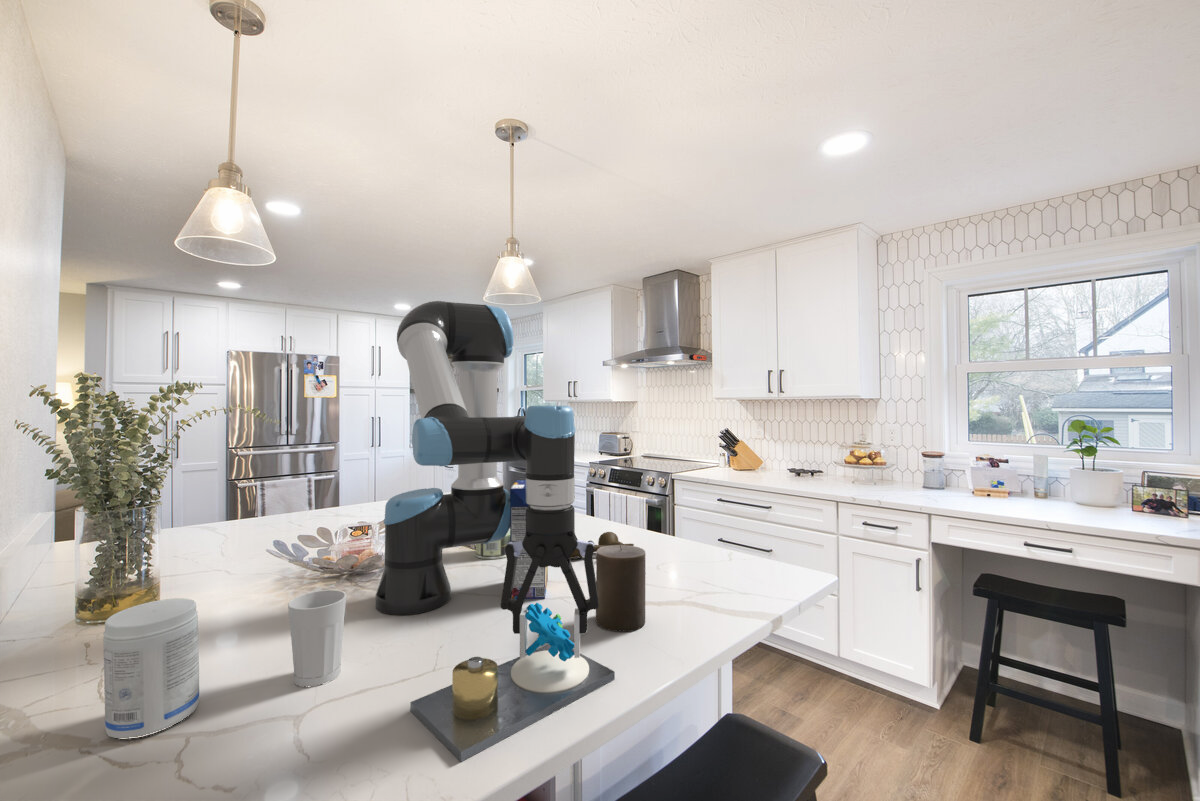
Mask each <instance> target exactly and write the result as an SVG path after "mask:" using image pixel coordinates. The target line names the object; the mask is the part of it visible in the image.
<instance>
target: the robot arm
mask: <svg viewBox="0 0 1200 801" xmlns="http://www.w3.org/2000/svg"><path fill="white" fill-rule="evenodd" d="M396 343H397V349H398V351H399V353H400V355H401V357H402V358H403V359H405V360H406V363H407V366H408V370H409V374H410V378H411V382H412V388H413V391H414V395H415V398H416V403H417V407H418V411H419V416H420V418H417V419H416V420H415V421H414V423H413V426H412V433H411V446H412V456H413V460H414V461H415V462H416V464H417V465H420V466H425V467H426V466H430V467H431V466H432V467H433V466H438V467H448V466H458V467H457V468H458V471H457V476H458V477H457V478H456V479H455V480H454V481H453V482H452V483H451V487H450V489H451V491H450V493H448V494H445V493H444V492H443V490H442V489H441V488H438V487H430V488H418V489H414V490H409V491H405V492H401V493H399V494H396V495H395V496H392V497H390V498H389V499H388V500H387V502H386V504H385V506H384V507H385V508H384V510H385V511H384V519H383V524H384V568H383V572H382V574H381V577H380V578H381V579H380V581H379V584H378V587H377V590H376V593H375V609H376V610H377V611H379V612H381V613H383V614H388V615H396V616H402V615H403V616H404V615H414V614H421V613H425V612H429V611H432V610H435V609H438V608H440V607H442V606H444V605H445V604H447V603H448V602H449V601H450V600H451V597H452V596H451V591H452V589H451V583H450V581H449V577H448V575H447V573H446V569H445V566H444V563H443V549H449V548H450V549H451V548H458V547H465V546H471V545H472V546H473V545H476V544H481V543H482V544H487V543H489V542H493V541H499V540H501V539H503V538H504V537H505V536H506V534H507V532H508V531H509V528H510V490H508V489H507V488H504V482H503V481H502V479H500V478H499V477H498V463H505V462H507V463H509V462H510V463H511V462H525V480H526V503H527V504H529V506H528V507H527V508H526V534H525V538H524V539H523V541H518V542H514V541H509V542H508V544H507V545H506V547H505V552H506V557H505V558H506V560H507V561H506V565H505V574H504V579H503V587H502V592H501V599H500V600H501V602H500V608H501V610H504V611H505V610H508V611H510V612H511V613H512V632H513V634H514V635H519V657H520V658H525V655H526V650H527V649H528V619H526V617H525V614H526V613H527V612H528V610H527V607H523V605H524V603H525V600H526V599H525V598H526V595H527V593H528V590H529V588H530V586H531V583H532V581H533V578H534V576H535V573H536V571H537V568H538V566H540V567H548V568H549V567H552V568H560V569H561V572H562V574H563V575H564V577H565V580H566V583H567V585H568V587H569V590H570V592H571V595H572V597H573V600H574V602H575V604H576V607H575V608H574V616H573V619H574V621H573V622H574V623H573V626H574V629H573V630H574V636H573V637H574V638H573V639H574V642H573V643H574V648H573V650H574V658H579V657H580V653H581V634H587V631H588V613H589V612H590V611H592V610H596V609H597V608H598V607H599V598H598V591H597V584H596V572H595V571H596V570H595V566H594V565H595V564H594V559H593V556H594V553H595V552H594V545H595V542H594V541H593V540H588V541H584V540H579V539H578V537H577V535H576V532H575V524H576V523H575V516H576V515H575V507H574V506H573V505H572V504H573V503H574V502H575V500H576V499H575V496H576V495H575V489H576V488H575V484H576V483H575V482H576V481H575V479H576V478H575V447H576V446H575V442H576V441H575V440H576V437H575V436H576V435H575V434H576V426H575V417H574V415H575V414H574V410H573V408H572V407H571V406H570V405H529V406H528V407H527V408H526V411H525V415H514V416H498V372H499V371H500V369H501V368H502V367H504V366H505V359H506V358H509V357H510V356H511V355H512V352H513V346H514V330H513V326H512V322H511V319H510V317H509V315H508V313H507V312H506V310H504V309H503V308H502V307H499V306H492V305H488V304H478V303H477V304H476V303H474V304H473V303H464V302H450V301H443V300H435V301H434V300H433V301H428V302H425V303H422V304H420V305H417V306H416V307H413V309H411V310H410V311H409V312H408V313H407V314H406V315H405V316H404V317H403V318H402V320H401V322H400V324H399V326H398V329H397V332H396ZM449 356H451V362H450V359H449ZM451 365H452V366H453V367H454V368H455V369H456V371H457V372H458V383H457V380H456V377H455V373H454V369H453V368H452V366H451ZM523 548H524V549H525V551H526V552H527V553H528V555H529V556H530V558H531V559H532V562H531V565H530V567H529V569H528V572H527V574H526V577H525V579H524V582H523V584H522V587H521V589H520V592H519V594H518V596H517V599H516V600H514V599H511V598H512V591H513V584H514V578H515V571H516V564H517V557H518V556H519V555H520V553H521V549H523ZM576 548H578V549H579V550H580V555H581V556H583V557H584V558H583V557H582V558H583V562H584V563H583V564H584V571H585V577H586V585H587V589H588V596H589V598H586V597H585V594H584V591H583V590H582V586H581V584H580V582H579V579H578V577H577V575H576V572H575V570H574V568H573V563H572V560H571V558H569V557H570V556H571V554H572V553H573V552H574V550H575V549H576Z"/></svg>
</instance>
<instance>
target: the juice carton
mask: <svg viewBox="0 0 1200 801" xmlns="http://www.w3.org/2000/svg"><path fill="white" fill-rule="evenodd" d="M509 489H510V490H509V492H510V541H514V542H518V541H523V539H524V538H525V534H526V508H527V507H528V506H529V504H527V503H526V479H523V480H522V479H520V480H519V479H518V480H517V479H516V480H515V481H514V482H513V484H512V485H511V487H510V488H509ZM531 562H532V559H531V558H530V556H529V555H528V553H527V552H526V551H525V549H524V548H523V549H521V553H520V555H519V556H518V557H517V564H516V571H515V578H514V584H513V591H512V598H511V599H514V600H516V599H517V596H518V594H519V592H520V589H521V587H522V584H523V582H524V579H525V577H526V574H527V572H528V569H529V567H530V565H531ZM548 569H549V566H548V567H540V566H538V568H537V571H536V573H535V576H534V578H533V581H532V583H531V586H530V588H529V590H528V593H527V595H526V598H525V600H545V599H546V593H547V588H548V587H547V586H548V579H549V578H548V577H549V574H548V572H549V571H548Z"/></svg>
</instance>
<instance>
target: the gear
mask: <svg viewBox="0 0 1200 801" xmlns="http://www.w3.org/2000/svg"><path fill="white" fill-rule="evenodd" d="M526 608H527V613H526V614H525V617H526V619H527V621H529V622H530V623H529V624H528V628H529V631H530V632H531V633H535V634H538V635H537V636H538V637H537V638H536V640H535V641H534V642H532V643H531V644H530V645H529V647H527V650H526V654H527V655H528V656H530V655H531V654H532V653H533V652H534V651H535V650H537V649H539V647H540V646H542V647H544V646H545V645H546V644H547V645H550V646H551V647H550V648H549V649H548V652H549V653H550V654H551V655H552V656H553V657H555V656H556V655H557V654H558V650H559V653H560V654H559V658H560V659H561V660H562V661H566V660H567V659H570V658H571V657H572V656H573V655H574V652H573V650H574V642H573V641H572V640H571V639H569V638H570V637H571V633H570V630H568V629H564V628H563V622H562V616H561V615H560V614H558V613H556V614H555V615H554V616H553V617H551V616H552V615H553V611H551V609H550V608H548V607H546V608H545V609H544V610H543V605H542V604H541V603H539V602H535V604H534V603H530V604H529V605H527V606H526ZM572 649H573V650H572Z"/></svg>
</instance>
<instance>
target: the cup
mask: <svg viewBox="0 0 1200 801" xmlns="http://www.w3.org/2000/svg"><path fill="white" fill-rule="evenodd" d="M346 605H347V593H346V592H345V591H344V590H339V589H322V590H314V591H310V592H306V593H303V594H300V595H298V596H296V597H294V598H292V599H290V600H289V602H288V603H287V607H288V608H287V610H288V616H289V617H288V618H289V628H290V638H291V639H290V640H291V650H292V651H291V652H292V663H293V675H294V676H293V677H294V678H293V682H295V683H294V685H295V684H296V685H295V686H297V685H299V686H307V687H306V688H309V687H308V686H315V687H317V686H316V685H320V684H323V683H326V682H328V681H330V682H332V681H333V679H334V678H335V679H337V678H338V677H339V676H340V674H341V670H342V669H341V666H342V664H341V662H342V652H343V650H342V649H343V636H344V628H345V627H344V625H345V614H346ZM338 675H339V676H338ZM337 676H338V677H337ZM336 677H337V678H336ZM335 679H334V680H335ZM331 680H332V681H331ZM328 683H329V682H328ZM326 684H327V683H326ZM323 685H324V684H323ZM299 686H298V687H299ZM320 686H321V685H320Z"/></svg>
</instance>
